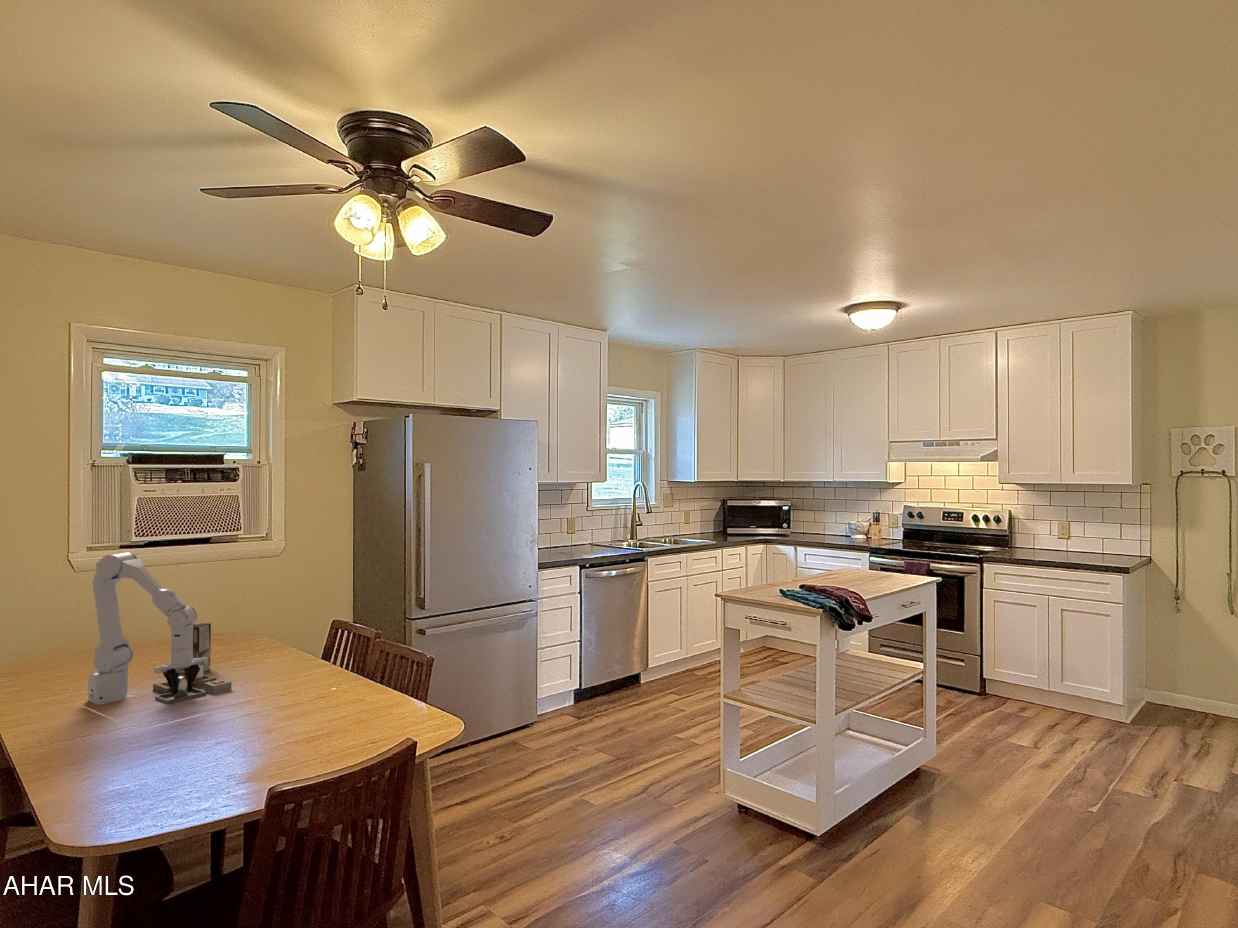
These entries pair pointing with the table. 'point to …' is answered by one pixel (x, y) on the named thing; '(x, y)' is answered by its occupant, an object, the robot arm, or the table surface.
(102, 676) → the robot arm
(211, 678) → the pallet
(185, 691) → the block
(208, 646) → the coffee box
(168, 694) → the shallow grey tray
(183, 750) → the table surface
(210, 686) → the button housing
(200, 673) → the billet
